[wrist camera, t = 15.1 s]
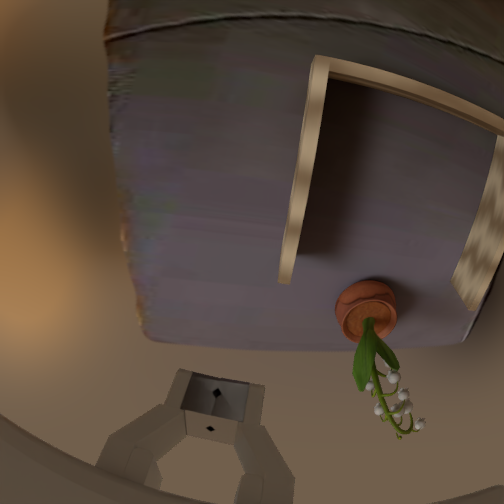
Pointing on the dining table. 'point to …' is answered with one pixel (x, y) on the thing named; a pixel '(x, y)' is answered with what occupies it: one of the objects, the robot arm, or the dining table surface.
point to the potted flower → (374, 344)
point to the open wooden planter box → (500, 175)
